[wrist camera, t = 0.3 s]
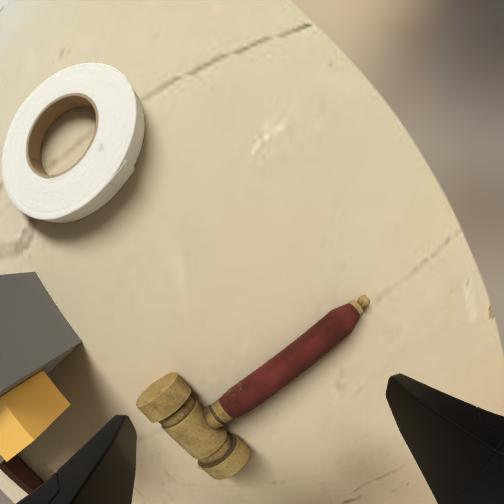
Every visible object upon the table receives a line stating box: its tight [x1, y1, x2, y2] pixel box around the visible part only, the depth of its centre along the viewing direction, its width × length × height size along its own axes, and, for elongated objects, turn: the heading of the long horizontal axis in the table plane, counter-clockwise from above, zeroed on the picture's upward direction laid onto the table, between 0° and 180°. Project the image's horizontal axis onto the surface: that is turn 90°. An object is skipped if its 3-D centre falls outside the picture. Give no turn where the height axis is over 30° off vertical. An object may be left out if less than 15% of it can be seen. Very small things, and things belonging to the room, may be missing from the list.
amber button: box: [0, 370, 71, 462], centre depth 15 cm, size 4×6×6 cm, turn 130°
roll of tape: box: [2, 63, 145, 223], centre depth 22 cm, size 16×15×3 cm
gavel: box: [136, 295, 370, 480], centre depth 23 cm, size 21×5×10 cm
